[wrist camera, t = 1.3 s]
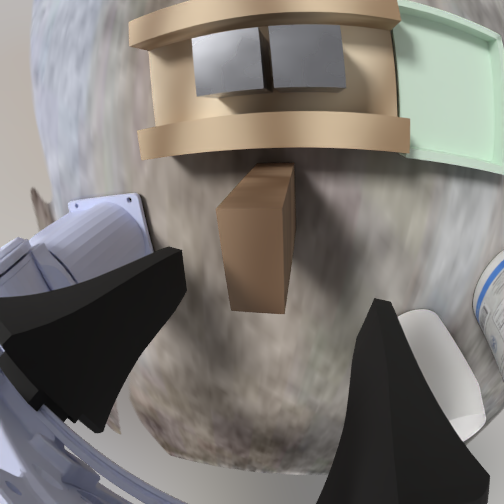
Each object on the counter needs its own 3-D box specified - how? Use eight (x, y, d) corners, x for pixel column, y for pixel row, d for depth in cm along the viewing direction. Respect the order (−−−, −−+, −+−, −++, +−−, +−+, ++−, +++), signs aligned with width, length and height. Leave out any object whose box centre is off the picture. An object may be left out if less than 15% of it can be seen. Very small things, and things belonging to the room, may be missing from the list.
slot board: (166, 151, 19) (141, 160, 16) (154, 30, 14) (128, 21, 11) (392, 145, 15) (409, 153, 12) (382, 10, 10) (395, -7, 8)
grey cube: (217, 98, 15) (196, 96, 12) (213, 49, 13) (191, 38, 10) (272, 93, 14) (263, 88, 11) (268, 42, 13) (257, 27, 10)
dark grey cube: (280, 92, 14) (273, 87, 11) (276, 42, 13) (268, 26, 10) (338, 92, 14) (346, 87, 11) (334, 41, 12) (339, 25, 9)
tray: (397, 153, 15) (406, 157, 14) (386, 5, 10) (393, -3, 9) (493, 169, 13) (506, 175, 12) (488, 38, 8) (500, 35, 7)
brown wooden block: (262, 230, 20) (231, 310, 13) (257, 163, 18) (216, 209, 10) (295, 230, 20) (284, 314, 12) (294, 162, 17) (282, 208, 10)
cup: (458, 290, 19) (507, 397, 9) (440, 353, 23) (462, 447, 13) (369, 305, 22) (387, 433, 11) (365, 366, 26) (369, 468, 15)
